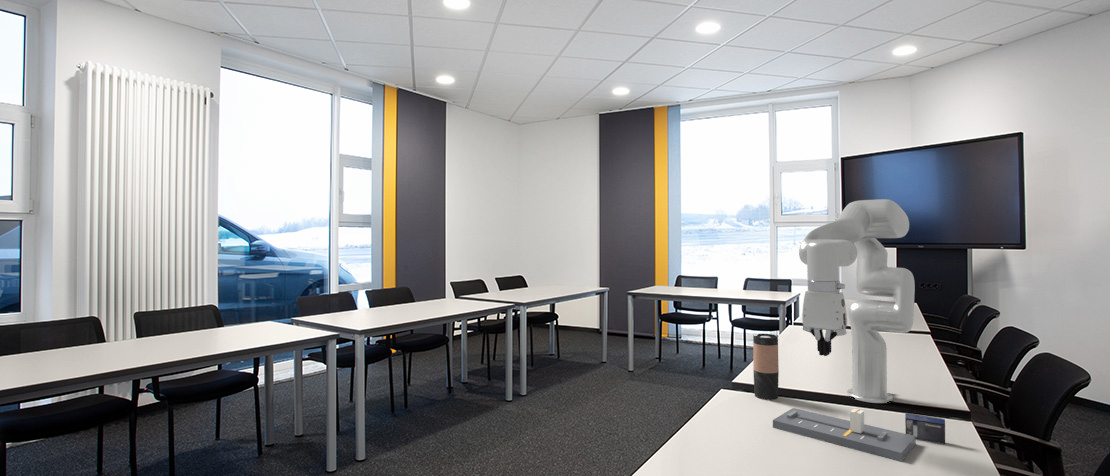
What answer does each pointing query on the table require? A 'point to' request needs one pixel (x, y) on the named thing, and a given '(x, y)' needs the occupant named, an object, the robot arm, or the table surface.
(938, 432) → the mini dv tape
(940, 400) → the table surface
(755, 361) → the travel mug
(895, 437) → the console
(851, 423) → the fader
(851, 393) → the robot arm
